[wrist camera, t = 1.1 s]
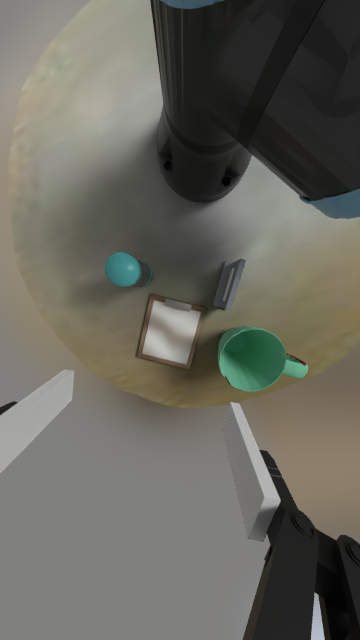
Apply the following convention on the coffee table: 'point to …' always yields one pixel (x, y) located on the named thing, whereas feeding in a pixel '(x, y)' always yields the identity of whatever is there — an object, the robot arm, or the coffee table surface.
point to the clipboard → (171, 331)
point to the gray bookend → (228, 284)
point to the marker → (127, 270)
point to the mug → (255, 359)
